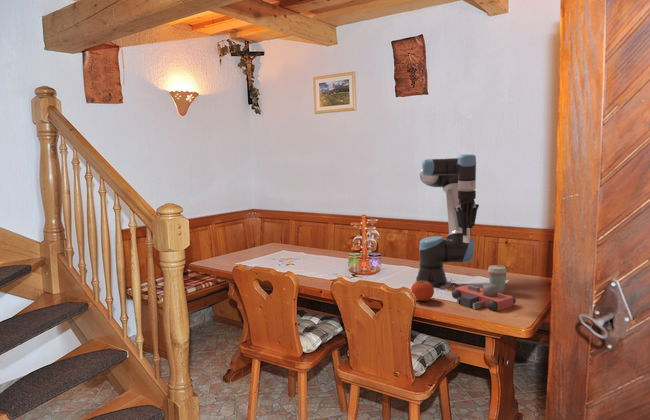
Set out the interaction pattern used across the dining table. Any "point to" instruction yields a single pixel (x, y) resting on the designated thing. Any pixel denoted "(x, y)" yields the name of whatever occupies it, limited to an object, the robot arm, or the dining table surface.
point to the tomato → (422, 290)
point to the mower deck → (486, 296)
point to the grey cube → (468, 300)
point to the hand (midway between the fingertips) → (466, 242)
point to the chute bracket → (476, 304)
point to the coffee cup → (498, 276)
